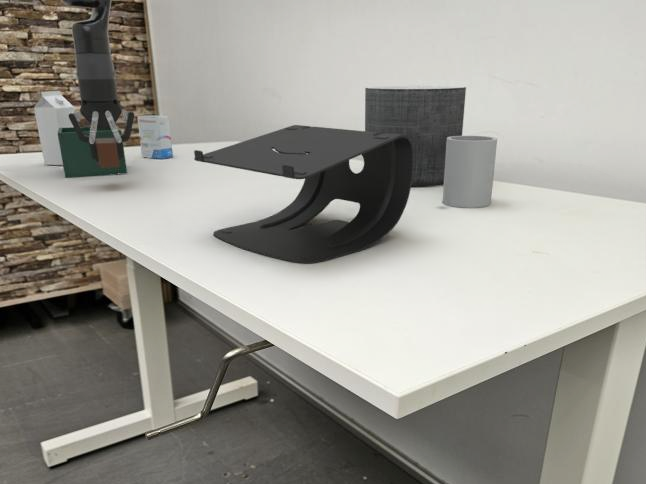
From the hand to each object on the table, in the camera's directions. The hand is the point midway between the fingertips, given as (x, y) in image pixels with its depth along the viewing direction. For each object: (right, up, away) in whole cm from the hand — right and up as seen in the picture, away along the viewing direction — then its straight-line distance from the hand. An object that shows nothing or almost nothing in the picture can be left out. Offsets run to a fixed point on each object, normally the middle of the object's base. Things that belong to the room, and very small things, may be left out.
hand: (108, 160), depth 134 cm
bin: (-11, +3, +23) cm, 26 cm away
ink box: (-2, +13, +46) cm, 48 cm away
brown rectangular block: (0, -1, 0) cm, 1 cm away
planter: (+68, -2, +8) cm, 69 cm away
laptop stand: (+45, -23, -38) cm, 63 cm away
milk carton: (-25, +9, +36) cm, 45 cm away
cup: (+75, -13, -17) cm, 78 cm away
